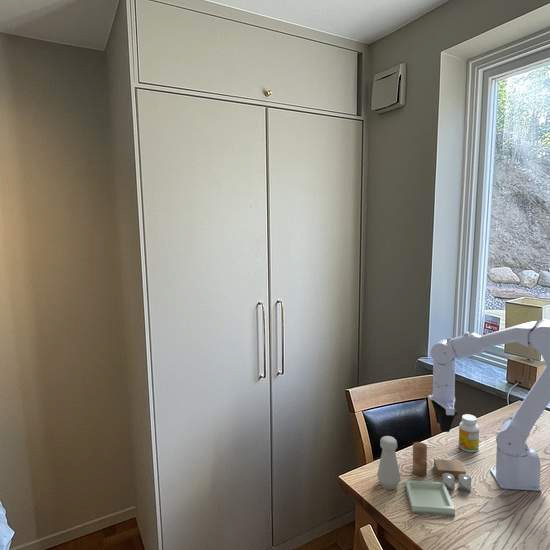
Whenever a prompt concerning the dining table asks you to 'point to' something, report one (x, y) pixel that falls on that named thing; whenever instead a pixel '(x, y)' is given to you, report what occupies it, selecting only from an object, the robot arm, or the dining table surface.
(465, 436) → the supplement bottle
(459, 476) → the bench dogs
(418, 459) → the dowel
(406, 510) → the dining table surface
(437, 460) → the wooden block
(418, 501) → the tray
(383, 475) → the salt shaker
